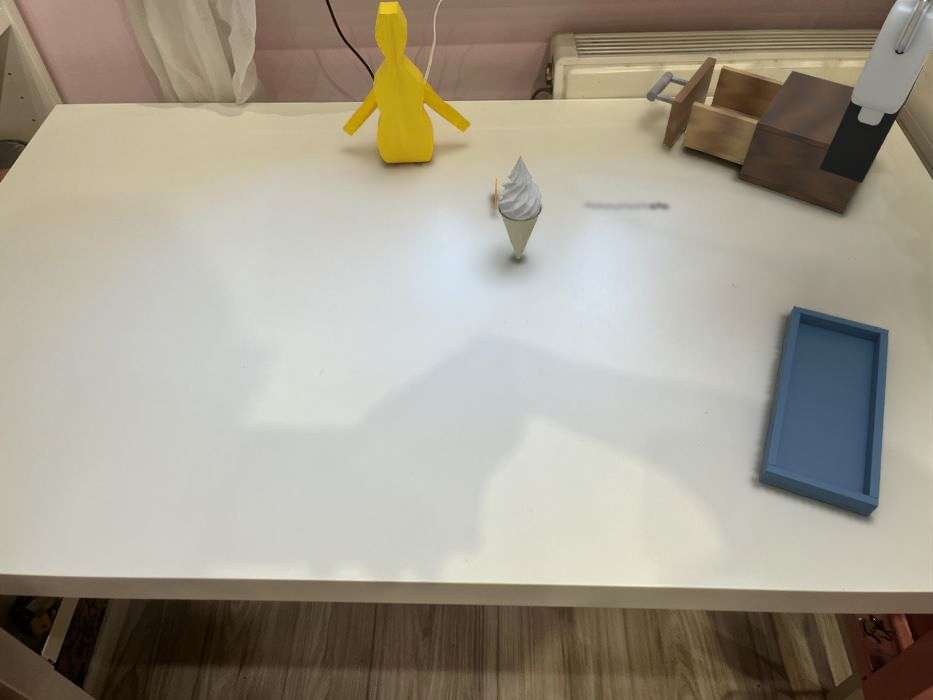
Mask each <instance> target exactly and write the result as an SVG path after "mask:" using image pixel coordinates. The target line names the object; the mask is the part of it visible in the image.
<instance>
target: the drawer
mask: <svg viewBox="0 0 933 700" xmlns="http://www.w3.org/2000/svg"><path fill="white" fill-rule="evenodd" d="M716 63H717V58H714V57H711V56H708V57H707V58H706V59H705V60H704V62H703V63H702V64H701V65H700V67H699V68H698V69H696V71H695V72H694V74H693V75H692V76H691V77H690V79H689V80H686V79H684V78H679V77H676V76H674V74H673V73H672V72H671V71H666V72H664V74H663V75H662V76H661V77H660V78H659V79H658V80H657V81H656V83H655V84H654V85H653V86H652V87H651V88H650V90H649V91H648V92H647V94H646V99H647V100H648V101H649V102H654V101H656V100H657V101H660V102H662V103H666V104H670V105H671V107H670V110H669V115H668V119H667V123H666V128H665V132H664V136H663V142H662V144H663V145H665V146H668V147H672V146H673V145H674V143H675V142H676V140H678V138H679V137H680V135H681V134H682V133H683V132H684V130H685V133H684V137H683V141H682V146H684V147H686V148H690V149H693V150H696V151H699V152H702V153H705V154H708V155H711V156H714V157H717V158H720V159H723V160H726V161H729V162H733V163H735V164H738V165H741V166H743V163H744V160H745V157H746V154H747V151H748V148H749V145H750V142H751V139H752V137H753V134H754V131H755V128H756V125H757V122H758V121H759V119H760V118H761V116H762V115H763V113H764V112H765V110H766V109H767V107H768V106H769V105H770V103H771V102H772V100H773V99H774V97H775V96H776V94H777V93H778V91H779V90H780V88H781V87H782V85H783V84H784V82H785V81H782V80H778V79H776V78H775V79H774V78H771V77H767V76H764V75H760V74H756V73H753V72H751V71H746V70H742V69H739V68H736V67H732V66H728V65H726V64H725V65H724V64H723V65H722V67H721V68H720V71H719V74H718V75H719V76H718V79H717V82H716V87H715V90H714V93H713V97H712V101H711V104H710V105H708V104H705V103H706V100H707V96H708V93H709V89H710V86H711V81H712V78H713V74H714V71H715V67H716ZM670 83H671V84H672V83H673V84H676V85H680V86H683V87H682V88H681V89H680V91H679V92H678V93H677V94H676V96H674V97H671V96H669V95H668V96H667V95H665V94H661V93H663V91H664V90H665V89H666V88H667V86H668V85H670Z"/></svg>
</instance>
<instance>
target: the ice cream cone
mask: <svg viewBox="0 0 933 700" xmlns="http://www.w3.org/2000/svg"><path fill="white" fill-rule="evenodd" d="M507 179H508V180H509V179H510V181H509V182H504V183H502V184H501V187H503V188H504V189H503V190H497V195H500V196H502V198H501V199H499V200H498V199H497V200H496V203H497V211H498V213H499V214H500V216H501V218H502V221H503V224H504V227H505V230H506V232H507V235H508V238H509V241H510V244H511V247H512V249H513V252H514V256H515V257H516V260H521V258H522V256H523V254H524V251H525V249H526V247H527V244H528V242H529V240H530V238H531V235H532V233H533V230H534V228H535V226H536V224H537V222H538V219H539V216H540V215H541V214H542V212H543V202H542V201H541V200H542V193H541V191H540V188H539V185H538V184H537V183H536V182H535V181H533V176H532V174H531V173H530V171H529V170H528V168H527V166H526V164H525V162H524V160H523V157H522V156H521V155H520V156H519V157H518V160H517V161H516V164H515V165H514V167H513V169H512V170H511V172H510V173H509V175H507Z"/></svg>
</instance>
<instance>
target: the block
mask: <svg viewBox="0 0 933 700" xmlns="http://www.w3.org/2000/svg"><path fill="white" fill-rule="evenodd" d="M924 65H925V64H924ZM924 65H923V67H922V69H921V71H920V73H919V75H918V77H917V78H916V80H915V82H914V84H913V86H912V88H911V90H910V92H909V94H908V96H907V97H906V99H905V101H904V103H903V105H902V106H901V107H900V109H899V110H898V111H897V112H896V113H893V114H888V113H884V115H883V117H882V119H881V121H880V123H879V124H877V125H870V124H866V123H863V122H860V121H859V120H858V115H859V113H860V111H861V109H862V106H859V105H857V104H854V103H853V102H852V101H851V100H850V103H849V105H848V107H847V109H846V111H845V114H844V116H843V118H842V120H841V122H840V124H839V127H838V129H837V131H836V133H835V135H834V138H833V140H832V142H831V144H830V146H829V148H828V151H827V153H826V155H825V157H824V159H823V162H822V164H821V166H820V168H819V169H820V170H823V171H826V172H829V173H832V174H835V175H838V176H841V177H844V178H847V179H850V180H854V181H857V182H859V184H862V183H863V182H864V180H865V179H866V176H867V175H868V173H869V170H870V169H871V167H872V166H873V163H874V161H875V159H876V158H877V156H878V154H879V152H880V150H881V148H882V146H883V145H884V142H885V141H886V139H887V137H888V135H889V133H890V131H891V129H892V127H893V125H894V124H895V122H896V120H897V118H898V116H899V114H900V113H901V110H902V108H903V107H904V106H905V103H906V101H907V99H908V97H909V95H910V93H911V91H912V90H913V88H914V86H915V84H916V82H917V80H918V78H919V76H920V74H921V72H922V70H923V68H924Z"/></svg>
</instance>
